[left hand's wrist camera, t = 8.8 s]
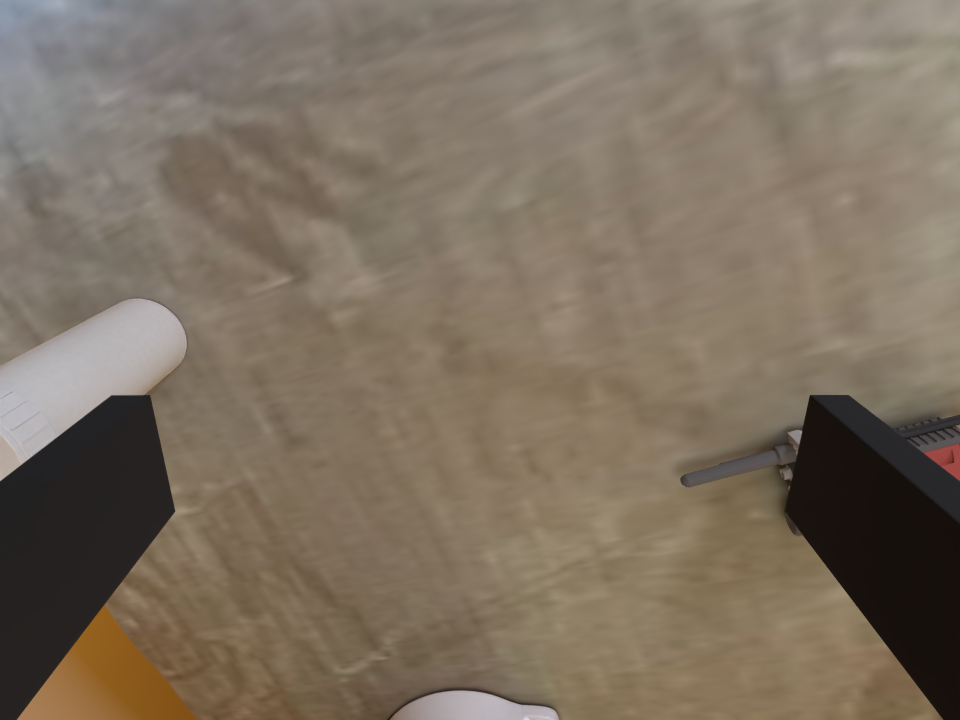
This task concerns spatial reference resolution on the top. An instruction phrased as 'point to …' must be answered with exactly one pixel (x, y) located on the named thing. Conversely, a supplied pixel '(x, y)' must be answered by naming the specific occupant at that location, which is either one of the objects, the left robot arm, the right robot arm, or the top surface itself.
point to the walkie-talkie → (932, 437)
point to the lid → (20, 431)
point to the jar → (98, 361)
